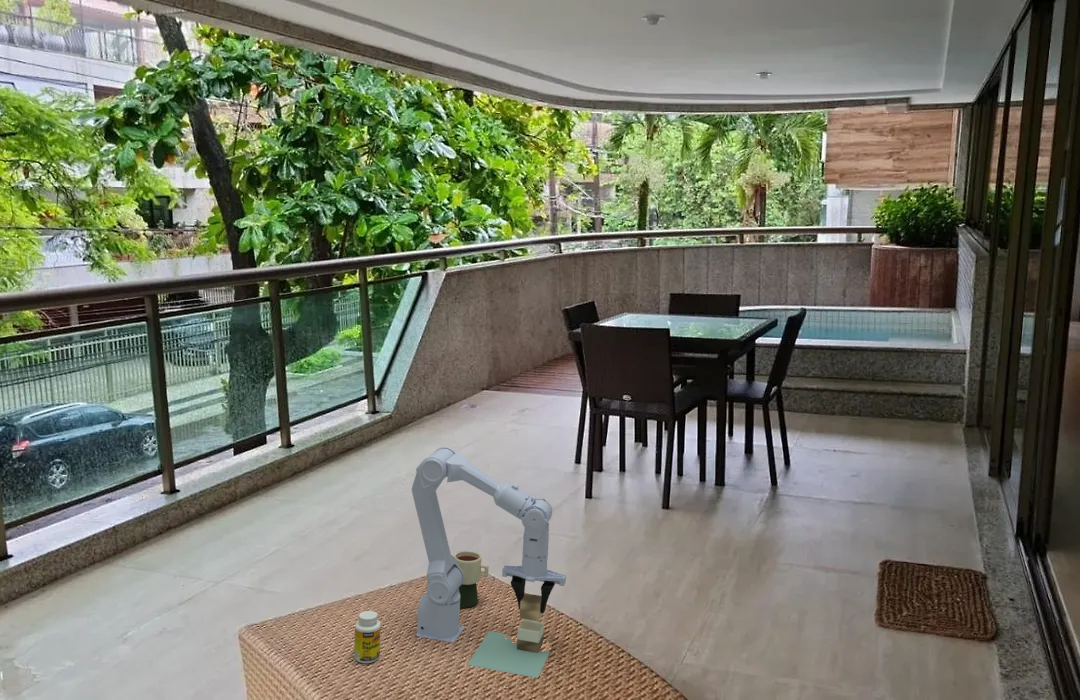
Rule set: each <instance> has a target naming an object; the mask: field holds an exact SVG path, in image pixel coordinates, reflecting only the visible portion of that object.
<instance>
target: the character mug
mask: <svg viewBox="0 0 1080 700" xmlns="http://www.w3.org/2000/svg"><path fill="white" fill-rule="evenodd" d="M453 556H454V557H455V558H456V561H457V564H458V566H459V567H460V568H461V570H462V571H463V574H464V581H463V583H462V585H461V586H460V587H459V593H460V608H471V607H474V606H476V605H477V603H479V599H478V597H479V596H478V595H479V594H478V585H477V583H478V582H479V581H480V580H481V578H485V577H487V578H488V576H489V565H488V564H486V563H485V564H483V563H482V554H481V553H480V552H477V551H476V550H475V551H474V550H461V551H457V552H456V553H454V555H453ZM482 569H484V572H482Z"/></svg>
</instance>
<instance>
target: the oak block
mask: <svg viewBox="0 0 1080 700" xmlns="http://www.w3.org/2000/svg"><path fill="white" fill-rule="evenodd" d="M540 608H541V595H538V594H532V593H526V592H524V597H523V598H522V600H521V602H520V610H519V619H522V620H523V619H525V620H531V621H537V622H540V620H541V618H542V616H543V614H544V613H540Z"/></svg>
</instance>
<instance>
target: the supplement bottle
mask: <svg viewBox="0 0 1080 700" xmlns="http://www.w3.org/2000/svg"><path fill="white" fill-rule="evenodd" d="M358 615H359V616H358V620H357V622H355V625H354V644H353V645H354V646H353V648H354V651H353V652H354V654H353V657H354V660H355V661H357V662H358V663H361V664H371V663H374V662H376V661H377V660H379V658H380V656H381V655H380V653H381V629H382V626H381V624H382V623H381V622H380V620H378V613H377V612H376V611H373V610H365V611H362V612H360V613H359V614H358Z"/></svg>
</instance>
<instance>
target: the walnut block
mask: <svg viewBox="0 0 1080 700" xmlns="http://www.w3.org/2000/svg"><path fill="white" fill-rule="evenodd" d="M544 633H545V632H544ZM544 633H543V635H542V637H541V639H540V641H539V643H536V642H530V641H524V640H519V639H517V650H523V651H528V652H534V653H538V652H539V650H540V648H541V646H542V643H543V641H544Z"/></svg>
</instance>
